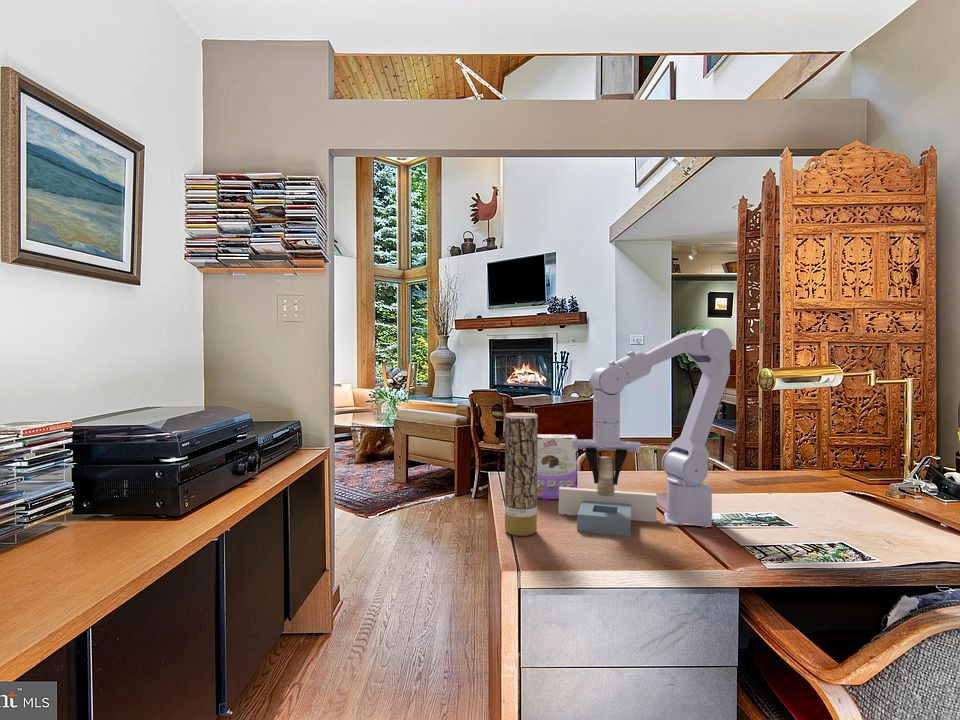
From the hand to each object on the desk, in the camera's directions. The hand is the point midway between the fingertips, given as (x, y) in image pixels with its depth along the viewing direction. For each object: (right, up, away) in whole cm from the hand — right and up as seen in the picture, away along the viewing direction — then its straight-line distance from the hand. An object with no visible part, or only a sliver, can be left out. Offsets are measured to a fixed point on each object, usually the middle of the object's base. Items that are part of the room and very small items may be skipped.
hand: (605, 483), depth 120 cm
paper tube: (-19, -10, -4) cm, 22 cm away
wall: (+2, -9, +7) cm, 12 cm away
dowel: (0, -2, 0) cm, 2 cm away
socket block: (0, -10, 0) cm, 10 cm away
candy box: (-9, -9, +24) cm, 27 cm away
